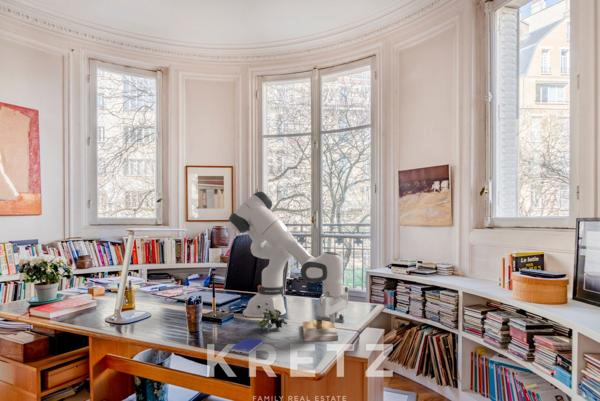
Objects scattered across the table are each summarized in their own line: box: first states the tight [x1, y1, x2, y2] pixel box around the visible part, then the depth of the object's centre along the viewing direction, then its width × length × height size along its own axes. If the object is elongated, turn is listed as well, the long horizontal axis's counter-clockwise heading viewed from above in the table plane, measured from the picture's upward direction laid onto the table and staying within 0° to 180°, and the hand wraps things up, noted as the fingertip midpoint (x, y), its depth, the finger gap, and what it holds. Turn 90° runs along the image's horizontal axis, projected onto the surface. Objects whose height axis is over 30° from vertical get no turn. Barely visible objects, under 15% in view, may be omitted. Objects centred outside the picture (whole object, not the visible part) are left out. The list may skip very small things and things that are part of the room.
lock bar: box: [315, 314, 345, 324], centre depth 163 cm, size 13×3×3 cm, turn 61°
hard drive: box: [229, 337, 264, 355], centre depth 149 cm, size 2×8×12 cm
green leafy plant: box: [255, 309, 288, 334], centre depth 169 cm, size 11×11×12 cm
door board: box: [302, 319, 339, 342], centre depth 166 cm, size 14×21×6 cm, turn 2°
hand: (333, 323), depth 160 cm, fingers closed
